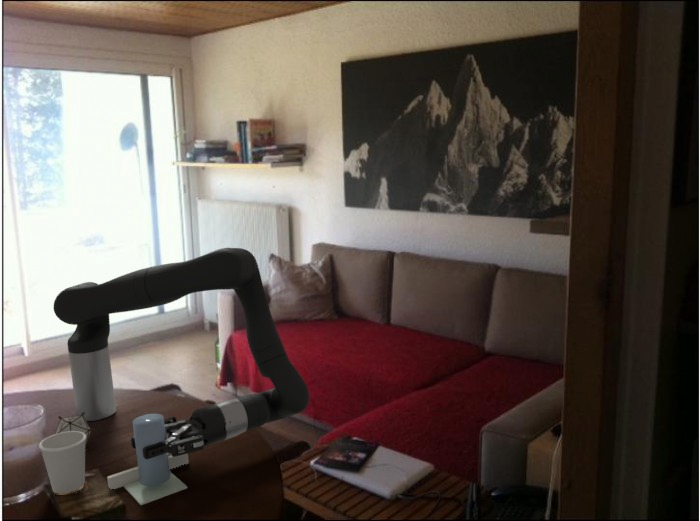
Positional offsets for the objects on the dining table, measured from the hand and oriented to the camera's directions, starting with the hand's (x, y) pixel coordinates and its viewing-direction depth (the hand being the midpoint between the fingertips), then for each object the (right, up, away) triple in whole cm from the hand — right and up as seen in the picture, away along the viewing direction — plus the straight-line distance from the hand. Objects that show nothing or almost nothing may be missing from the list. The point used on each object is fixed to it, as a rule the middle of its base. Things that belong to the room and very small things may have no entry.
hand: (138, 448), depth 122 cm
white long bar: (0, -8, +8) cm, 11 cm away
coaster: (+2, -8, +3) cm, 9 cm away
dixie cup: (-15, -9, +5) cm, 18 cm away
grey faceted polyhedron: (-21, -7, +22) cm, 31 cm away
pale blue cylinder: (+2, -7, +3) cm, 8 cm away
